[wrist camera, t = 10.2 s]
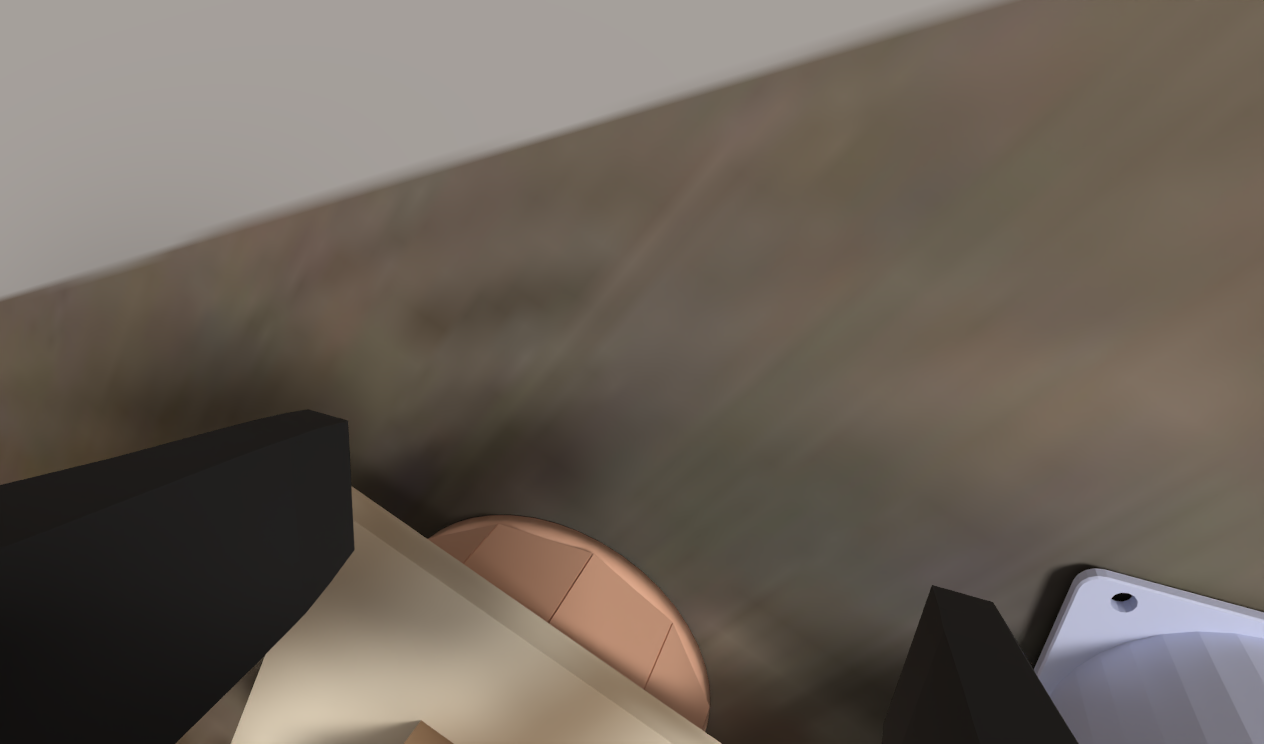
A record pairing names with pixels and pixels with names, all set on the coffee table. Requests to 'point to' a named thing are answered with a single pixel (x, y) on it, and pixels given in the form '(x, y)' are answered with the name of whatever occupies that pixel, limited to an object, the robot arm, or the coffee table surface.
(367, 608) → the cover board
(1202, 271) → the coffee table surface
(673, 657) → the bowl
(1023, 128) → the coffee table surface
